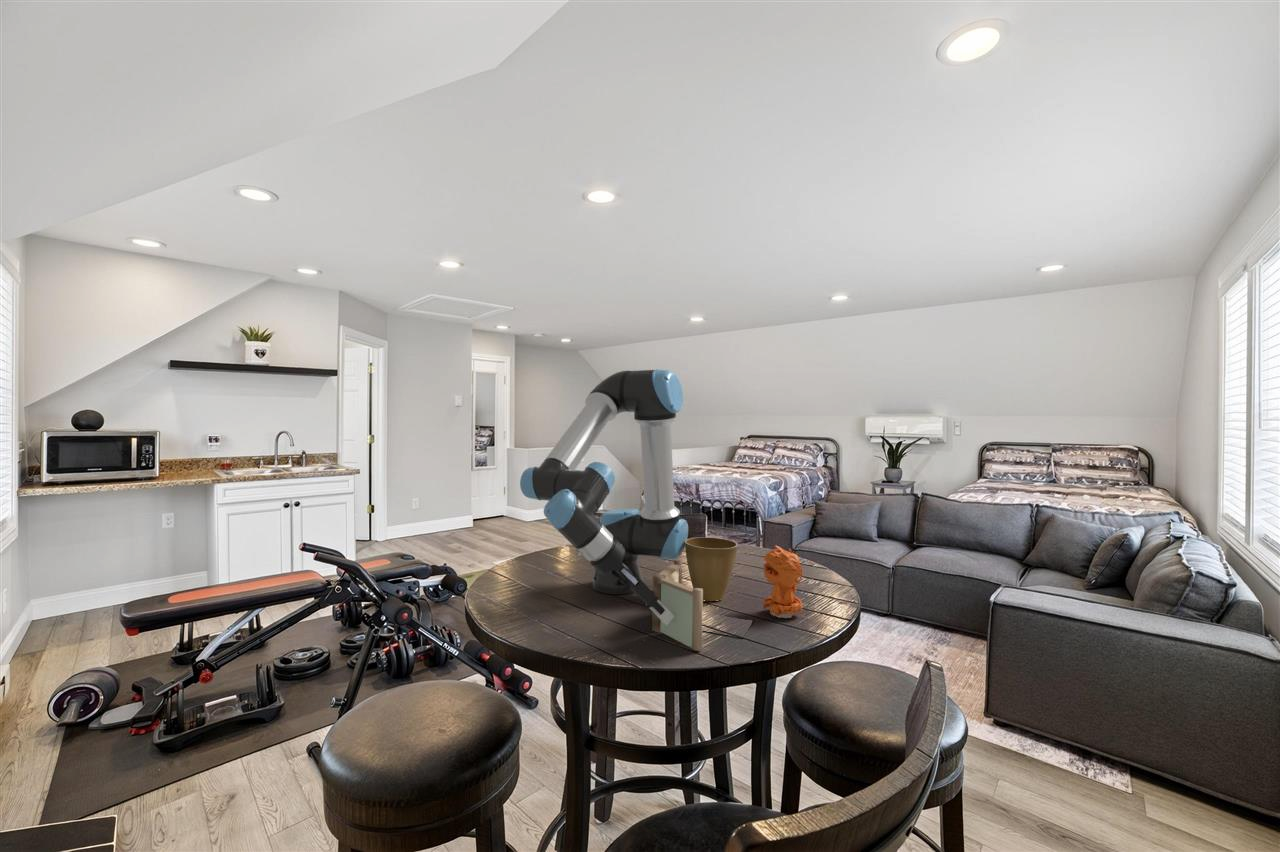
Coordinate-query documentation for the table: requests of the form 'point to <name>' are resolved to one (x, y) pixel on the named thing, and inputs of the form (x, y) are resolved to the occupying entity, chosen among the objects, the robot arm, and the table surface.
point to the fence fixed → (670, 573)
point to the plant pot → (710, 564)
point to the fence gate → (683, 612)
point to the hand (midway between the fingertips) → (669, 619)
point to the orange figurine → (782, 581)
